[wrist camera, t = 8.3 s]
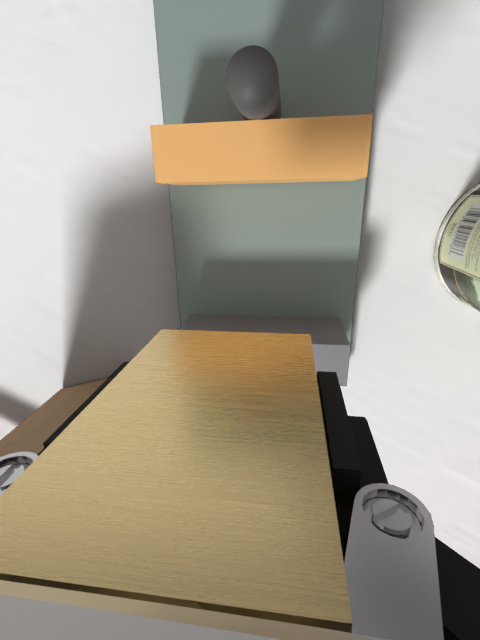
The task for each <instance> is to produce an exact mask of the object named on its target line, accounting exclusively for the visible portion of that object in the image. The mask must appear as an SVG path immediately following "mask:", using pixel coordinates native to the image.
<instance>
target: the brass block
mask: <svg viewBox="0 0 480 640" xmlns="http://www.w3.org/2000/svg"><path fill="white" fill-rule="evenodd" d="M0 580H3V581H10V582H17V583H24V584H31V585H38V586H45V587H52V588H59V589H66V590H73V591H80V592H87V593H93V594H100V595H107V596H114V597H121V598H128V599H134V600H141V601H148V602H155V603H161V604H168V605H175V606H182V607H188V608H195V609H201V610H208V611H214V612H221V613H227V614H234V615H240V616H247V617H254V618H260V619H267V620H273V621H280V622H286V623H293V624H299V625H306V626H312V627H319V628H324V629H330V630H336V631H342V632H348V633H351V631H352V624H353V623H352V616H351V609H350V603H349V596H348V589H347V582H346V575H345V568H344V561H343V554H342V548H341V541H340V534H339V527H338V520H337V513H336V506H335V500H334V493H333V486H332V479H331V472H330V465H329V458H328V451H327V445H326V438H325V431H324V424H323V417H322V410H321V403H320V397H319V390H318V383H317V376H316V369H315V362H314V355H313V348H312V342H311V335H310V334H290V333H260V332H230V331H200V330H170V329H161V330H160V331H159V332H158V333H157V334H156V335H155V336H154V337H153V339H152V340H151V341H150V342H149V343H148V344H147V345H146V346H145V347H144V348H143V349H142V350H141V351H140V352H139V353H138V354H137V355H136V356H135V357H134V358H133V359H132V360H131V361H130V362H129V363H128V364H127V365H126V366H125V367H124V368H123V370H122V371H121V372H120V373H119V374H118V375H117V376H116V377H115V378H114V379H113V380H112V381H111V382H110V383H109V384H108V385H107V386H106V387H105V388H104V389H103V390H102V391H101V392H100V393H99V394H98V395H97V396H96V397H95V398H94V400H93V401H92V402H91V403H90V404H89V405H88V406H87V407H86V408H85V409H84V410H83V411H82V412H81V413H80V414H79V415H78V416H77V417H76V418H75V419H74V420H73V421H72V422H71V423H70V424H69V425H68V426H67V427H66V428H65V430H64V431H63V432H62V433H61V434H60V435H59V436H58V437H57V438H56V439H55V440H54V441H53V442H52V443H51V444H50V445H49V446H48V447H47V448H46V449H45V450H44V451H43V452H42V453H41V454H40V455H39V456H38V457H37V458H36V460H35V461H34V462H33V463H32V464H31V465H30V466H29V467H28V468H27V469H26V470H25V471H24V472H23V473H22V474H21V475H20V476H19V477H18V478H17V479H16V480H15V481H14V482H13V483H12V484H11V485H10V486H9V487H8V488H7V490H6V491H5V492H4V493H3V494H2V495H1V496H0Z"/></svg>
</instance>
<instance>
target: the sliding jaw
mask: <svg viewBox="0 0 480 640" xmlns="http://www.w3.org/2000/svg"><path fill="white" fill-rule="evenodd" d="M225 81H226V87H227V90H228V93H229V95H230V96H231V98H232V100H233V102H234V103H235V105H236V107H237V108H238V110H239V112H240V113H241V115H242V117H243V118H244V120H245V121H228V122H208V123H189V124H169V125H150V129H151V139H152V150H153V160H154V171H155V181H156V183H160V184H171V185H216V184H254V183H292V182H329V181H353V180H357V179H362V178H366V177H367V173H368V162H369V152H370V142H371V132H372V121H373V114H364V115H345V116H325V117H306V118H286V119H280V118H281V99H280V88H279V77H278V68H277V64H276V62H275V59H274V58H273V56H272V55H271V53H270V52H269V51H267V50H266V49H265V48H263V47H260V46H256V45H250V46H246V47H243V48H241V49H240V50H238V51H237V52H236V53H235V54H234V55H233V56H232V58H231V59H230V61H229V63H228V66H227V69H226V75H225Z"/></svg>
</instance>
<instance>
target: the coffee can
mask: <svg viewBox="0 0 480 640" xmlns="http://www.w3.org/2000/svg"><path fill="white" fill-rule="evenodd" d="M434 263H435V267H436V272H437V275H438V277H439V279H440V281H441V283H442V284H443V286H444V287H445V288H446V290H447V291H448V292H449V293H450V294H451V295H452V296H453V297H455V298H456V299H457V300H459V301H460V302H462V303H464V304H467V305H469V306H471V307H473V308H475V309H477V310H478V311H480V184H478V185H476V186H475V187H473V188H472V189H471V190H469V191H468V192H467V193H466V194H465V195H463V196H462V197H461V198H460V199H459V200H458V201H457V202H456V204H455V205H453V206H452V208H451V210H450V211H449V213H448V214H447V216H446V217H445V219H444V221H443V223H442V225H441V227H440V229H439V231H438V235H437V238H436V242H435V249H434Z"/></svg>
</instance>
